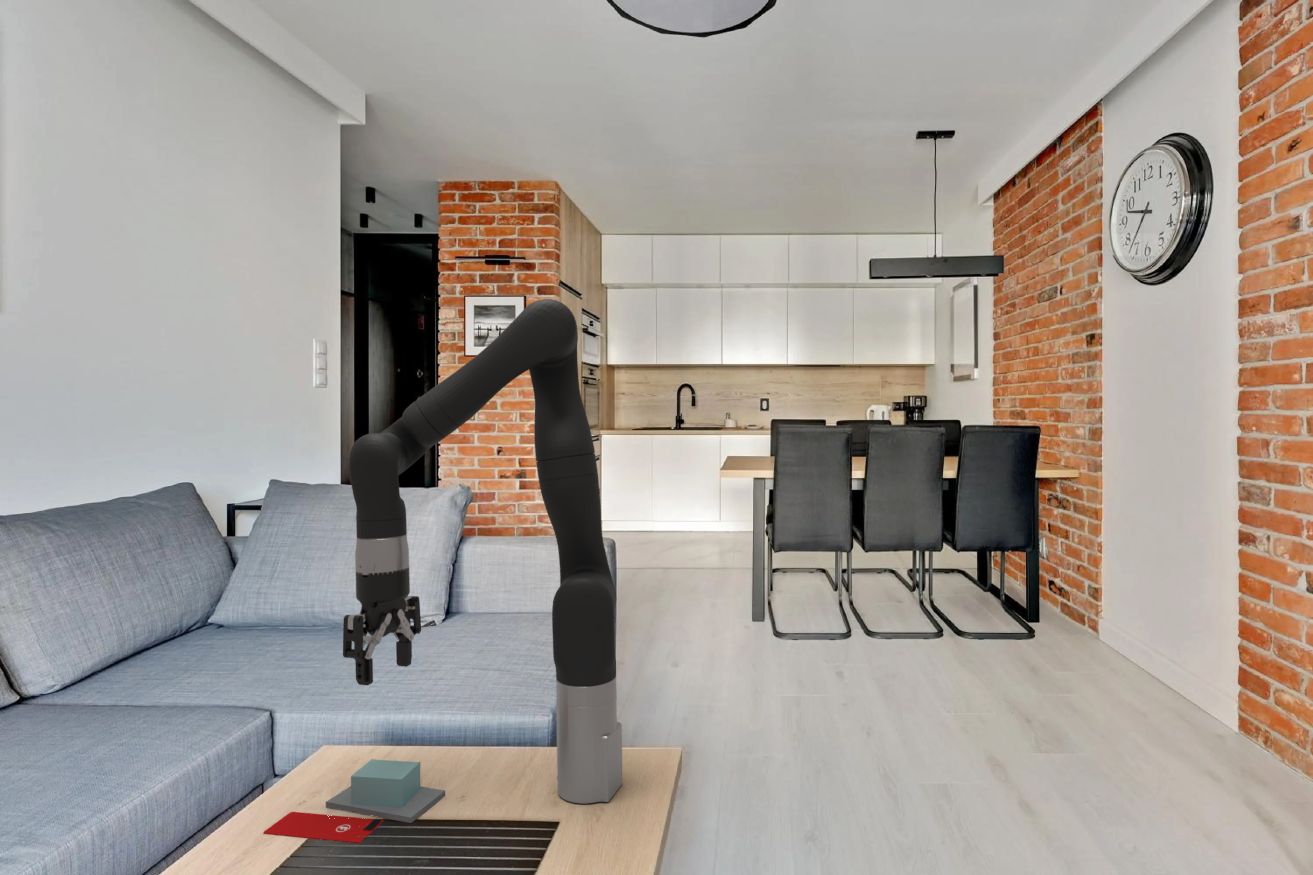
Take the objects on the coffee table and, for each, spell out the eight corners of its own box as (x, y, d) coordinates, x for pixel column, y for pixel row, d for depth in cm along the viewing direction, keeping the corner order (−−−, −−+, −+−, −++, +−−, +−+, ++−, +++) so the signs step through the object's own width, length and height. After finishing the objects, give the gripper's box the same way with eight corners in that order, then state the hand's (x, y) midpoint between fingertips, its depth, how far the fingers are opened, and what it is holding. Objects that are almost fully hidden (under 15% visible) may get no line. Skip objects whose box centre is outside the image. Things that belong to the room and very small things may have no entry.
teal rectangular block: (371, 785, 108) (371, 759, 108) (420, 788, 107) (420, 761, 107) (351, 803, 102) (350, 775, 102) (402, 806, 101) (401, 779, 101)
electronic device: (261, 836, 96) (360, 846, 93) (261, 832, 96) (360, 842, 93) (291, 814, 102) (384, 823, 99) (291, 810, 102) (384, 819, 99)
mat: (445, 795, 106) (445, 790, 106) (411, 822, 98) (411, 817, 98) (364, 781, 111) (364, 776, 111) (325, 807, 103) (325, 801, 103)
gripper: (393, 557, 113) (396, 658, 112) (326, 574, 99) (329, 688, 99) (433, 559, 110) (435, 661, 110) (369, 576, 97) (372, 693, 97)
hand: (385, 674), depth 105 cm, fingers open, 8 cm apart
